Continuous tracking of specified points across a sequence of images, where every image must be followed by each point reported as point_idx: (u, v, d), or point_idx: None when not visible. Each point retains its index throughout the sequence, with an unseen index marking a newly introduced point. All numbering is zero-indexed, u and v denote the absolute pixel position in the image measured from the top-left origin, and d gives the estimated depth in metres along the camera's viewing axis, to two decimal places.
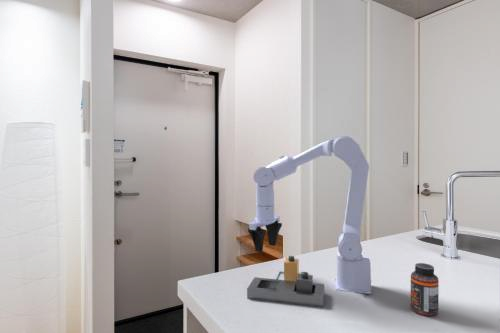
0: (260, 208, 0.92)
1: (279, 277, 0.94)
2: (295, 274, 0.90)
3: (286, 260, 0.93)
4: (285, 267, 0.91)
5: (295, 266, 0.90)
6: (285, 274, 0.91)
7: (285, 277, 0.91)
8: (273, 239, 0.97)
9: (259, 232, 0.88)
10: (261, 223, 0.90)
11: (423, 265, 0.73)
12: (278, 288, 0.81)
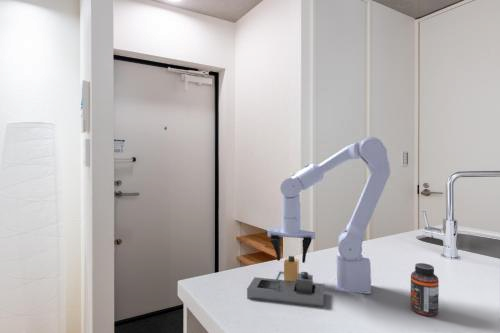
0: None
1: (279, 277, 0.94)
2: (295, 274, 0.90)
3: (286, 260, 0.93)
4: (285, 267, 0.91)
5: (295, 266, 0.90)
6: (285, 274, 0.91)
7: (285, 277, 0.91)
8: None
9: None
10: (275, 232, 0.92)
11: (423, 265, 0.73)
12: (278, 288, 0.81)
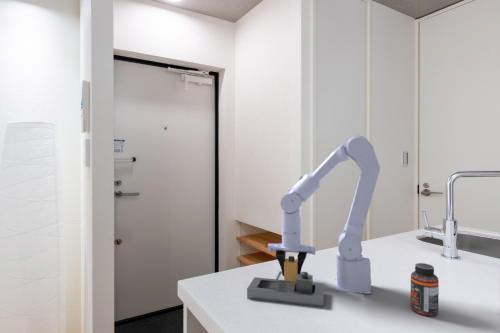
0: None
1: (279, 277, 0.94)
2: (295, 274, 0.90)
3: (286, 260, 0.93)
4: (285, 267, 0.91)
5: (295, 266, 0.90)
6: (285, 274, 0.91)
7: (285, 277, 0.91)
8: (298, 270, 0.91)
9: (276, 255, 0.92)
10: (275, 247, 0.92)
11: (423, 265, 0.73)
12: (278, 288, 0.81)
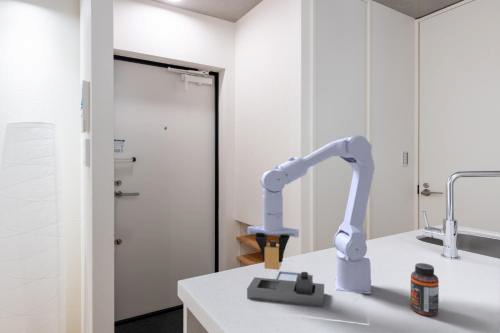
0: None
1: (279, 277, 0.94)
2: (276, 260, 0.83)
3: (267, 245, 0.85)
4: (266, 252, 0.84)
5: (276, 251, 0.83)
6: (266, 260, 0.84)
7: (266, 263, 0.84)
8: None
9: None
10: (255, 229, 0.84)
11: (423, 265, 0.73)
12: (278, 288, 0.81)
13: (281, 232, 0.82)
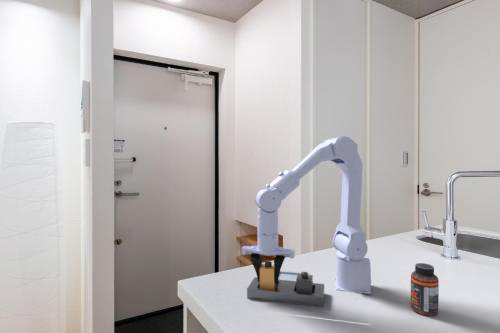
0: None
1: (279, 277, 0.94)
2: (272, 281, 0.81)
3: (262, 265, 0.84)
4: (261, 273, 0.82)
5: (272, 272, 0.81)
6: (261, 281, 0.82)
7: (261, 284, 0.82)
8: (275, 275, 0.82)
9: None
10: (250, 250, 0.83)
11: (423, 265, 0.73)
12: (278, 288, 0.81)
13: (276, 253, 0.80)
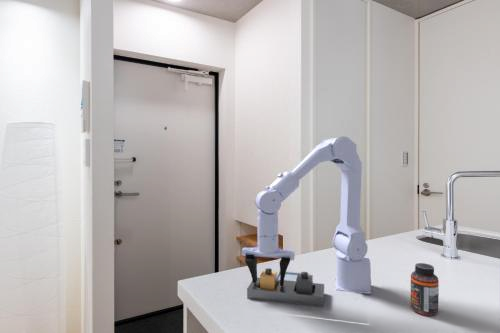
0: None
1: (279, 277, 0.94)
2: None
3: (263, 273, 0.84)
4: (261, 281, 0.82)
5: (272, 280, 0.81)
6: None
7: None
8: None
9: None
10: (250, 251, 0.83)
11: (423, 265, 0.73)
12: (278, 288, 0.81)
13: (276, 255, 0.80)
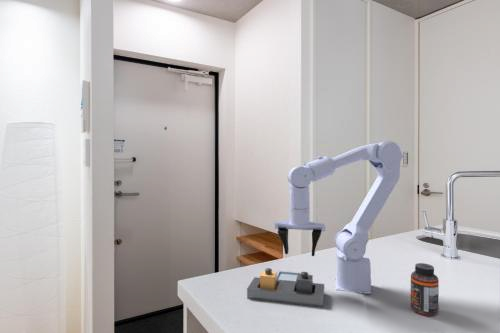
0: None
1: (279, 277, 0.94)
2: None
3: (263, 273, 0.84)
4: (261, 281, 0.82)
5: (272, 280, 0.81)
6: None
7: None
8: (312, 248, 0.86)
9: (278, 232, 0.87)
10: (283, 224, 0.87)
11: (423, 265, 0.73)
12: (278, 288, 0.81)
13: (309, 226, 0.84)
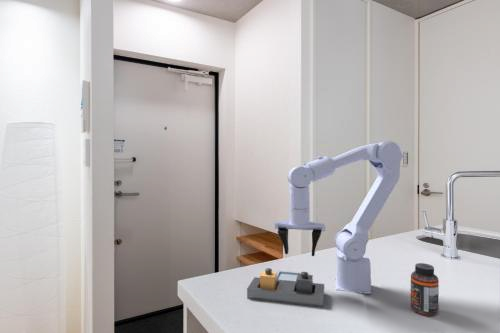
0: None
1: (279, 277, 0.94)
2: None
3: (263, 273, 0.84)
4: (261, 281, 0.82)
5: (272, 280, 0.81)
6: None
7: None
8: (312, 248, 0.86)
9: (278, 232, 0.87)
10: (283, 224, 0.87)
11: (423, 265, 0.73)
12: (278, 288, 0.81)
13: (309, 226, 0.84)
